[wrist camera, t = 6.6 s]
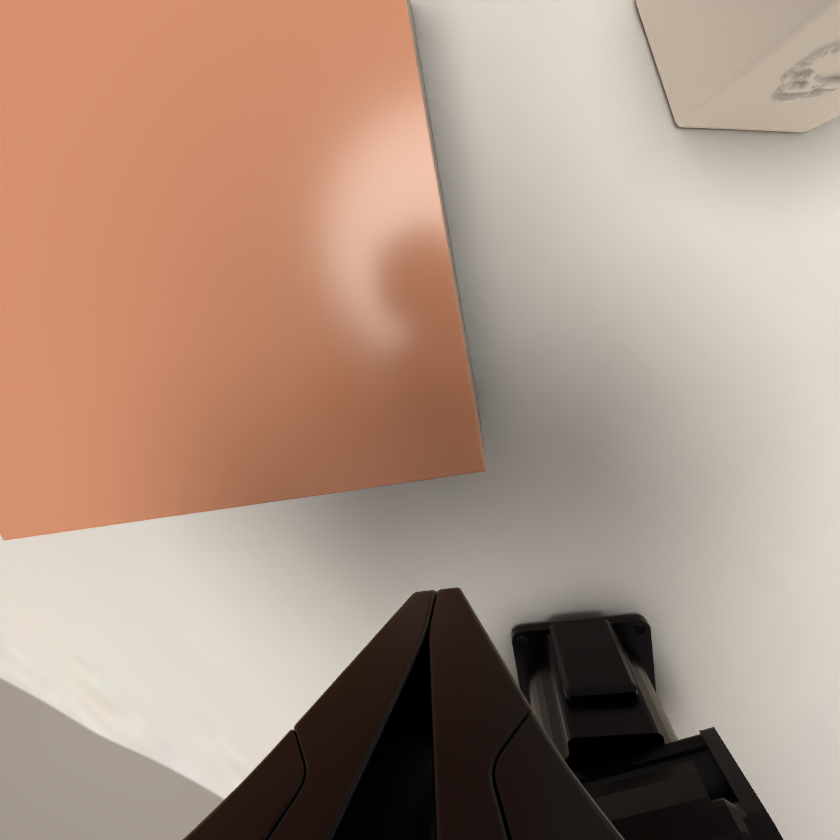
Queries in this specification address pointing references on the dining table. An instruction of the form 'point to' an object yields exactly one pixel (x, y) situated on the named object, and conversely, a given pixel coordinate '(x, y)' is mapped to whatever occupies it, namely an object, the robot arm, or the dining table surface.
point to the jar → (747, 61)
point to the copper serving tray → (219, 261)
